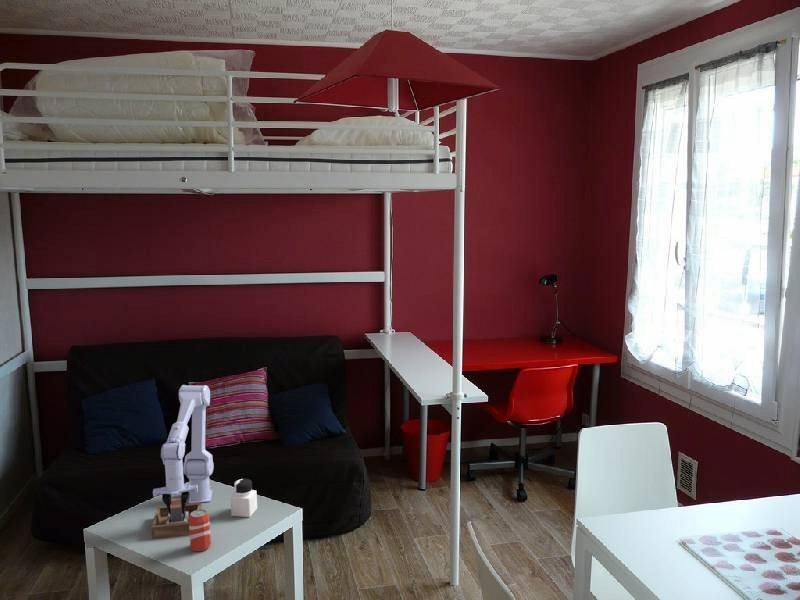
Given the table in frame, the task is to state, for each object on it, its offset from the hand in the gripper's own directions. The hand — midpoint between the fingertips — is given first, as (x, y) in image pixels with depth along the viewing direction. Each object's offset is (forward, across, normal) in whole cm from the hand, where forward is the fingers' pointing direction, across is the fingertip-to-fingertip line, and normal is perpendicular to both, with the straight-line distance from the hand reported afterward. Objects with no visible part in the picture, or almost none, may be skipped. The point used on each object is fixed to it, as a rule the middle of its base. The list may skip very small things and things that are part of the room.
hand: (177, 513), depth 230 cm
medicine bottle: (+5, +22, +5) cm, 23 cm away
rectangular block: (+3, 0, 0) cm, 3 cm away
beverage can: (+5, +9, -17) cm, 20 cm away
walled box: (+5, 0, 0) cm, 5 cm away
